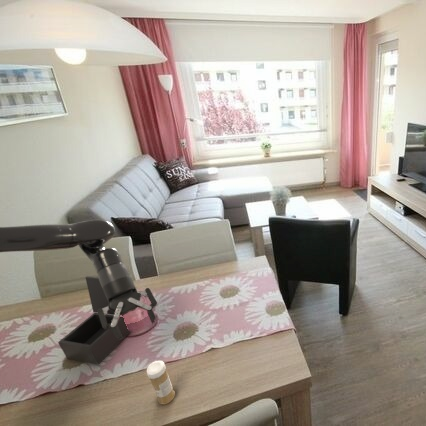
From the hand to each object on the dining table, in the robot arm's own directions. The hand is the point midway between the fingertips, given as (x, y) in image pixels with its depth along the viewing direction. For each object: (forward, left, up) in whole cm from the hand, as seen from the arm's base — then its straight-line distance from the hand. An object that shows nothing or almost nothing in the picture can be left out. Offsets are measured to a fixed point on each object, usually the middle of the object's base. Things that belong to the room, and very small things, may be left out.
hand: (137, 330), depth 86 cm
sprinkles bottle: (-6, -9, -20) cm, 22 cm away
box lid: (+15, +29, -4) cm, 33 cm away
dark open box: (+7, +29, -20) cm, 36 cm away
